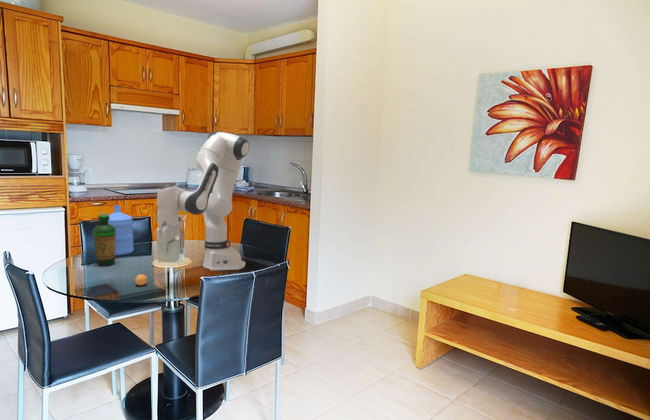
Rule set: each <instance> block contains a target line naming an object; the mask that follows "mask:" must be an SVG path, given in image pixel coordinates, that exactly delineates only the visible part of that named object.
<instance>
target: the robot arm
mask: <svg viewBox="0 0 650 420" xmlns="http://www.w3.org/2000/svg"><path fill="white" fill-rule="evenodd" d="M249 150H250V143H249V141H248V140H247V139H246V138H245V137H243V136H239V135H237V134H233V133H229V132H224V131H223V132H222V131H221V130H220V131H219V130H213V131H211V132H210V133H209V135H208V136H207V140H206V141H205V142H204V144H203V145H202V146H201V148H200V149H199V151H198V153H197V155H196V157H195V164H196V166H197V168H198V169H199V170H200V171H201V172H202V173H203V174H202V178H201V180H200V183H199V184H198V188H197V189H196V190H195V191H194V190H193V191H189V190H185V189H182V188H181V187H178V185H176V184H174V183H166V184H163V185H160V186H159V187H158V188H157V191H156V192H157V193H156V196H157V197H156V204H157V212H156V216H157V217H156V218H157V225H158V227H157V229H156V246H157V245H161V247H162V249H163V253H167V252H168V248H167V243H168V242H170V241H171V240H173V239H176V238H177V237H179V235H180V228H181V227H180V226H181V223H180V222H181V220H182V218H181V216H180V215H179V212H180V211H182V212H184V213H190V214H192V215H195V216H197V215H201V214H202V215H203V220H204V221H203V222H204V226H205V231H204V232H205V239H204V251H205V252H204V259H203V260H204V261H203V264H202V267H203V268H205V269H209V271H233V270H242V269H243V268H245V266H246V262H245V260H242V256H241V253H240V252H238V250H235V249H234V247H232V246H231V244H232V243H231V240H229V239H227V238H228V237H227V236H228V235H227V233H228V231H227V230H228V228H227V223H226V221H225V217H227V216H228V215H230V214H231V212H232V210H233V204H232V199H233V191H234V186H235V183H236V180H237V178H238V174H239V171H240V167H241V163H242V159H244V157H246V156H247V154H248V152H249Z"/></svg>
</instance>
